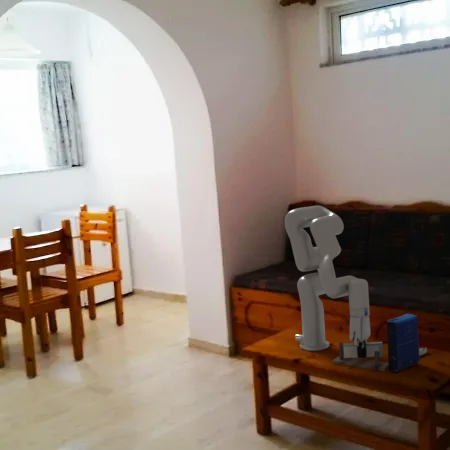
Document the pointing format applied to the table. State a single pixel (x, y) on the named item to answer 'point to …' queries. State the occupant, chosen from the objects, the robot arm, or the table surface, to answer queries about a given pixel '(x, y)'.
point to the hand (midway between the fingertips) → (362, 356)
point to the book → (402, 342)
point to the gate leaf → (351, 350)
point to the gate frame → (360, 361)
